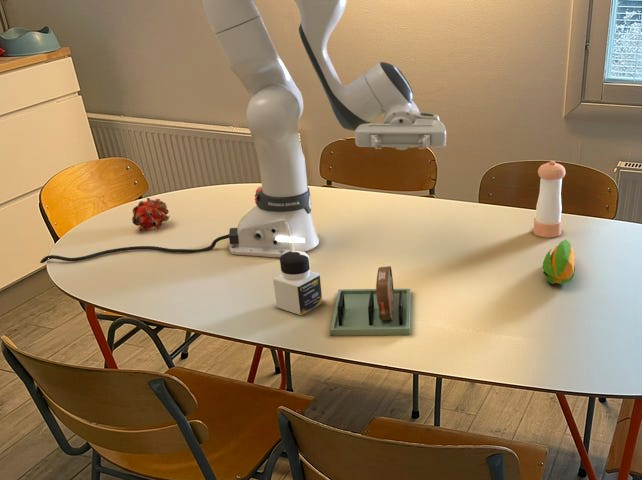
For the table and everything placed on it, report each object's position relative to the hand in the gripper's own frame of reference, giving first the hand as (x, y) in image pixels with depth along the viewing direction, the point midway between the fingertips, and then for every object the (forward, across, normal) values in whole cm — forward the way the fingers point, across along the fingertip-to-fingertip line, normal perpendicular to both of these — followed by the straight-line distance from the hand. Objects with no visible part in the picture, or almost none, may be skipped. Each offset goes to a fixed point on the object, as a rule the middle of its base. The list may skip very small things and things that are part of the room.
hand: (400, 145), depth 159 cm
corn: (0, +37, +30) cm, 48 cm away
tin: (+19, -3, +30) cm, 36 cm away
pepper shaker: (-26, +38, +30) cm, 55 cm away
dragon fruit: (-32, -68, +31) cm, 81 cm away
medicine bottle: (+15, -22, +31) cm, 41 cm away
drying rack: (+20, -6, +30) cm, 37 cm away
